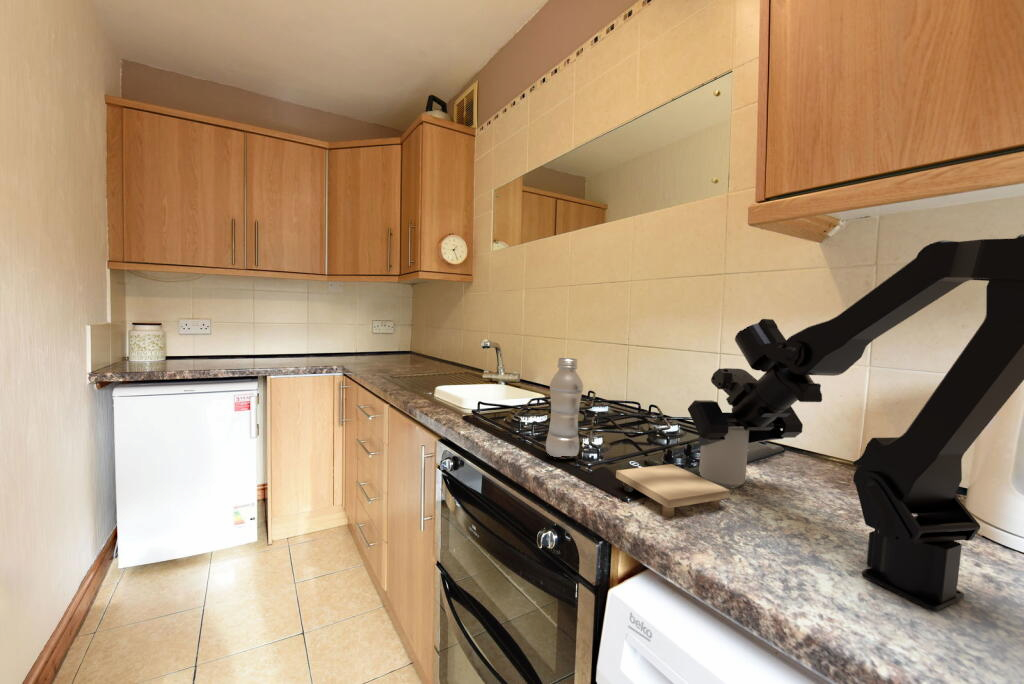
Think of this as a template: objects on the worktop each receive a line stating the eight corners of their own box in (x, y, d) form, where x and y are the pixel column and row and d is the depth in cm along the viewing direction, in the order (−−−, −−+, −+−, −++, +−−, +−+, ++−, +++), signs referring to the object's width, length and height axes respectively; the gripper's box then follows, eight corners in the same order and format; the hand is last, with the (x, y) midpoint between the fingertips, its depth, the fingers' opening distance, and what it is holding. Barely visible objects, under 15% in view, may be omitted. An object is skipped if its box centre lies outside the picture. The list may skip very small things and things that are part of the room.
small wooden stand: (728, 509, 65) (729, 490, 65) (667, 520, 61) (669, 499, 60) (670, 480, 76) (671, 464, 76) (615, 488, 72) (616, 470, 71)
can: (696, 483, 76) (701, 416, 75) (700, 470, 82) (704, 409, 82) (745, 493, 72) (750, 423, 71) (744, 479, 79) (749, 415, 78)
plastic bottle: (541, 453, 88) (546, 356, 87) (572, 452, 90) (578, 357, 88) (549, 463, 82) (555, 359, 81) (583, 463, 83) (589, 361, 82)
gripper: (794, 356, 74) (742, 405, 85) (699, 352, 70) (657, 405, 81) (833, 411, 67) (770, 457, 78) (729, 411, 63) (679, 459, 74)
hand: (718, 442), depth 78 cm, fingers closed on can, 7 cm apart
